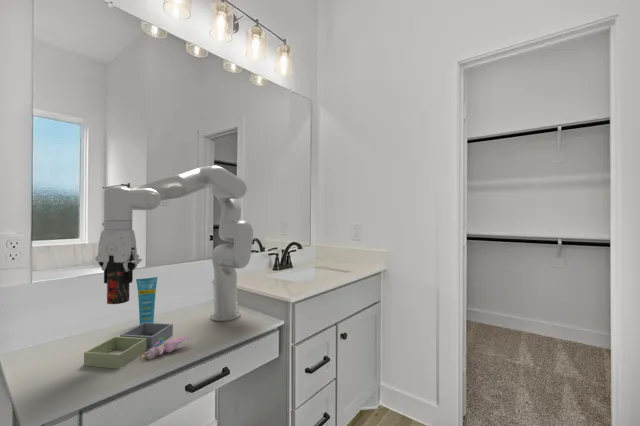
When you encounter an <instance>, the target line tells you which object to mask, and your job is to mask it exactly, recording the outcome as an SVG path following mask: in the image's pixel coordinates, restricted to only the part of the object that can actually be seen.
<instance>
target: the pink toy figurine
mask: <svg viewBox="0 0 640 426" xmlns="http://www.w3.org/2000/svg"><path fill="white" fill-rule="evenodd" d="M158 340H160V341H159V342H157V343H156V344H155V346H154V347H153V348H151V349H147V350H146V351H145V352H143V353H142V354H140V355H139V358H140V359H142V362H143V361H144V362H145V358H147V360H149V359H151V360H153V359H154V358H155V357H157V355H159V356H161V355H162V354H163V353H164V352H165V353H167V352H168V353H167V354H170V353H171V352H173V351H174V350H176V349H177V348H178V346H179V345H180V344H182V343H183V342H184V341H186V340H191V338H190V337H189V336H186V335H180V336H177V337H175V338H168V339H166V341H165V342H164V341H163V338H159V339H158ZM162 344H163V347H161V345H162ZM159 346H160V347H159Z"/></svg>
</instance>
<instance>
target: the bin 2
mask: <svg viewBox="0 0 640 426" xmlns="http://www.w3.org/2000/svg"><path fill="white" fill-rule="evenodd" d="M173 327H174V326H173V323H159V322H158V323H157V322H154V323H146V322H144V323H142V324H140V323H139V324H138V325H136V326H134V327H133V328H131V329H129V330H127V331H124V332H123V333H122V334H119V335H120V336H119V337H133V338H147V350H149V349H151V348H153V347H154V346H155V344H156V343H157V342H159V341H160V340H158V339H159V338H163V342H164V341H165V340H166V341H167V340H168V339H170V337H171V336H173V335H174V330H173V329H174V328H173ZM146 334H147V335H146Z"/></svg>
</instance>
